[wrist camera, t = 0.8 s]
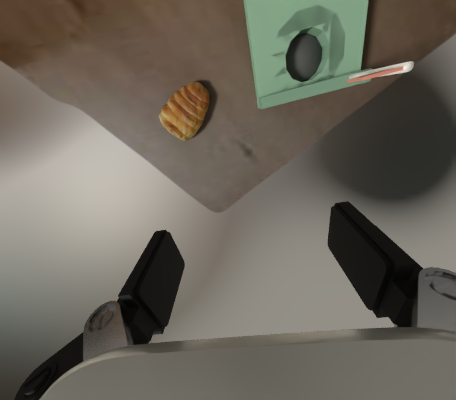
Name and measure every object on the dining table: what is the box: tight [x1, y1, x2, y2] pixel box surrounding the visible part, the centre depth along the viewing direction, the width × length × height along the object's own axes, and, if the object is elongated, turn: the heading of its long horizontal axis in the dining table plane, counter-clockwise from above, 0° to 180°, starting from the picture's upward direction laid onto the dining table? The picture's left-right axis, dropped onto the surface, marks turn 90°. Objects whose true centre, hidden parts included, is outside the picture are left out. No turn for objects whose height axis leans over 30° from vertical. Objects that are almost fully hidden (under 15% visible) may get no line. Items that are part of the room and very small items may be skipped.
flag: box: [346, 61, 414, 83], centre depth 22 cm, size 1×4×14 cm, turn 104°
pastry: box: [159, 82, 209, 141], centre depth 30 cm, size 9×7×4 cm
